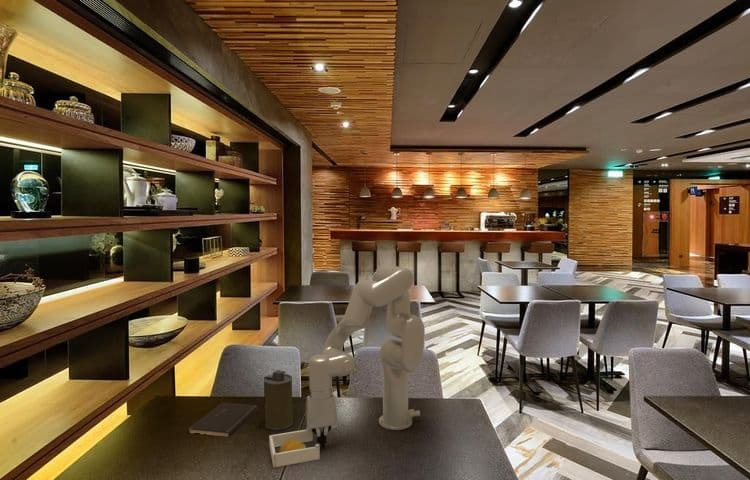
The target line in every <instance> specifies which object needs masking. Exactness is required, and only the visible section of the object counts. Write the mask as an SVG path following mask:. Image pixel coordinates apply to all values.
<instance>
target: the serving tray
mask: <svg viewBox="0 0 750 480" xmlns="http://www.w3.org/2000/svg"><path fill="white" fill-rule="evenodd" d="M313 434H314V433H313V432H307V431H306V429H302V430H295V431H290V432H289V431H288V432H284V433H277V434H271V435H270V434H269V440H268V441H269V450H270V451H269V452H270V456H271V462H272V468H279V467H284V466H290V465H294V464H301V463H306V462H312V461H313V462H314V461H317V460H320V459H321V456H320V454H321V453H320V450H321V448H320V445H319V444H317V443H316V444H314V446H311V447H310V446H309V447H306V448H304V449H298V450H292V451H286V452H281V453H280V452H276V449H275V448H280V447H281V446H282V444H284V443H285V442H286V441H288V440H291V439H295V440H298V441H299V442H301V443H303V444H304V443H308V442H313V441H314V439H313V437H314V436H313Z"/></svg>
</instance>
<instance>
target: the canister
mask: <svg viewBox="0 0 750 480" xmlns="http://www.w3.org/2000/svg"><path fill="white" fill-rule="evenodd" d="M263 391H264V392H263V396H264V397H263V399H264V401H263V402H264V406H265V407H264V408H265V409H264V411H265V413H264V414H265V416H264V417H265V420H264V421H265V423H264V426H265V428H267V429H268V430H272V431H279V430H284V429H288V428H290V427H291V426H292V425H293V423H294V420H293V419H294V418H293V376H292V375H290V374H287V373H286V371H283V370H280V369H277V370H275V371H274V372H272V374H271V375H269V374H268V375H265V376H263Z"/></svg>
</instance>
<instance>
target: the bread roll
mask: <svg viewBox="0 0 750 480" xmlns="http://www.w3.org/2000/svg"><path fill="white" fill-rule="evenodd" d="M304 448H307V445H306V444H304V442H303V443H301V442H299V441H298V440H295V439H291V440H288V441H286V442H285V443H284V444H282V446H279V453H281V452H286V451H292V450H298V449H304Z"/></svg>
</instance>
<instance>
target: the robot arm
mask: <svg viewBox="0 0 750 480" xmlns="http://www.w3.org/2000/svg"><path fill="white" fill-rule="evenodd" d="M414 282H415V276H414V273H413V272H412V271H411V269H409V268H406V267H403V266H396V265H391V264H382V265H380V266H378V267H377V268H376V269H375V280H371V279H362V280H359V281H358V282H357V283H356V285H355V286H354V288H353V292H352V294H351V297H350V299H349V302H348V304H347V308H346V310H345V313H344V316H343V318H342V319H341V320H340V321H339V322H338V323H337V324H336V325H335V327H333V329H332V330H331V331H330V333H329V334H328V337H327V338H326V340H325V342H324V346H323V349H322V351H321V354H318V353H317V354H315V355H312V356H310V358H309V359H308V379H309V381H308V386H309V387H308V389H309V395H307V397H306V400H305V417H304V418H305V419H304V420H305V424H306V425H305V427H304V430H306V431H307V432H313V434H315V435H316V444H319V445H320V449H322V448H326V444H327V435H328V433H329V432H330V431H331V430H332V429H334V428H336V427H338V423H337V422H338V419H337V418H338V415H337V413H338V412H337V405H336V400H335V395H334V392H337V387H336V386H333V383H332V382H333V379H332V378H333V377H345V376H348V375H351V374H353V372H354V371H355V369H356V364H357V363H356V359H355V358H354V356H352V355H351V354H349V353H347V352H346V351H344V350H343V347H344V346H345V345H344V344H345V343H346V341H347V340H348V338H349V337H350V336H351V335H353V334H355V333H356V332H359V331H362V330H363V329H365V328H366V327H367V325H368V322H369V319H370V316H371V313H372V310H373V308H374V307H377V308H381V307H384V306H386V305H387V306H386V308H387V309H386V310H387V311H386V321H385V322H386V323H385V329H386V331H387V333H388V334H389V335H391V336H393V337H396V338H398V339H395V338H390V339H387V340H385V341H384V342H382V345H381V347H380V351H379V356H380V362H381V369H382V414H381V416H380V417H379V418H378V424H379V425H380V427H382V428H384V429H386V430H390V431H401V430H405V429H409V428H410V427H411V426H412V425H413V417H420V416H421V412H420V410H415V409H414V408H411V409H409V376H408V375H409V373H415V372H417V371H418V370H419V368H420V367H421V365H422V362H423V357H424V346H425V334H426V333H425V326H424V322H423V320H422V319H421V318H420V317H419V316H418V315H414V314H411V296H410V291H409V290H410V289H412V286H413V285H414ZM400 339H401V340H400ZM320 428H322V429H321V430H322V431H321V430H320Z"/></svg>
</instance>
